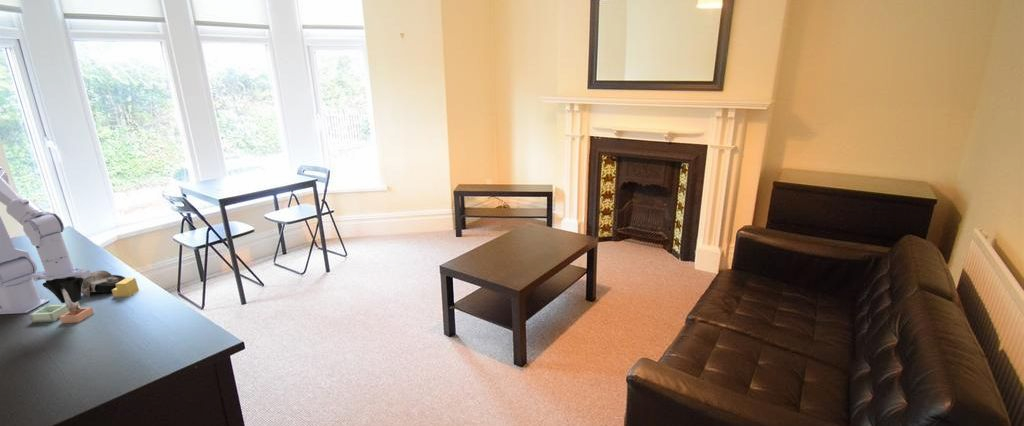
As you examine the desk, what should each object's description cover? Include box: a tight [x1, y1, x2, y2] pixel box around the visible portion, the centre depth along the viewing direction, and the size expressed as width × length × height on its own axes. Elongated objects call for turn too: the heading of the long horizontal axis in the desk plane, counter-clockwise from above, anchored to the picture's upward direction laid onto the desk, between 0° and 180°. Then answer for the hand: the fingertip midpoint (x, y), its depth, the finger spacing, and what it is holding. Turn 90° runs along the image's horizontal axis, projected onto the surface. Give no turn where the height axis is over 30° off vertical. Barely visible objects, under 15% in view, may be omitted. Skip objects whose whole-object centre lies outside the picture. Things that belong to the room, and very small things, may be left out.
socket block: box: [59, 306, 95, 324], centre depth 137 cm, size 5×5×2 cm
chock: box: [111, 277, 140, 298], centre depth 150 cm, size 5×4×4 cm
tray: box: [29, 303, 69, 323], centre depth 138 cm, size 6×5×2 cm
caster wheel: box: [81, 270, 126, 298], centre depth 154 cm, size 7×11×10 cm
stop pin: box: [60, 287, 82, 312], centre depth 135 cm, size 3×3×7 cm
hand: (71, 301), depth 135 cm, fingers closed on stop pin, 3 cm apart
